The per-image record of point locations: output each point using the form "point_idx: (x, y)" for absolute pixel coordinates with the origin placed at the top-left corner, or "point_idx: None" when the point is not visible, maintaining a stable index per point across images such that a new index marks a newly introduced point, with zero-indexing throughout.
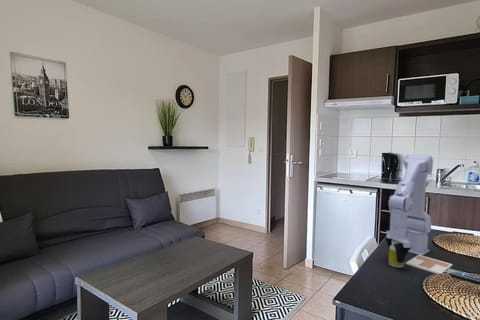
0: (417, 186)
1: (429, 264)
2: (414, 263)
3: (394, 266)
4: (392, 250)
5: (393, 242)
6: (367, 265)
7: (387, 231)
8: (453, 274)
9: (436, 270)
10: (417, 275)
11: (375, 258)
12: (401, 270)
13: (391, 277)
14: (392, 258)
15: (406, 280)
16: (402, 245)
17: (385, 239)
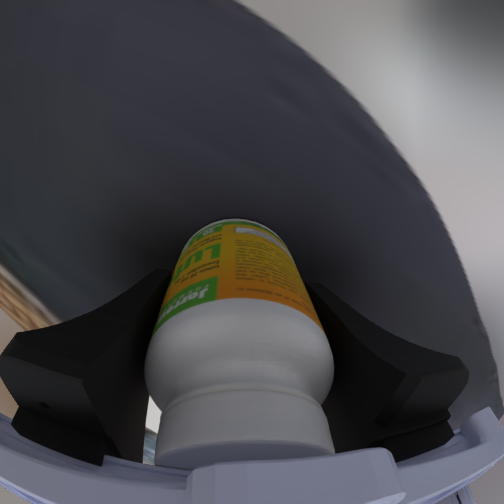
0: None
1: None
2: None
3: (193, 235)
4: (197, 302)
5: (212, 425)
6: (233, 13)
7: (500, 457)
8: (144, 435)
9: (150, 414)
10: (80, 307)
11: (377, 173)
12: (134, 252)
13: (30, 117)
14: (202, 251)
15: (8, 198)
16: (16, 419)
17: (447, 361)
